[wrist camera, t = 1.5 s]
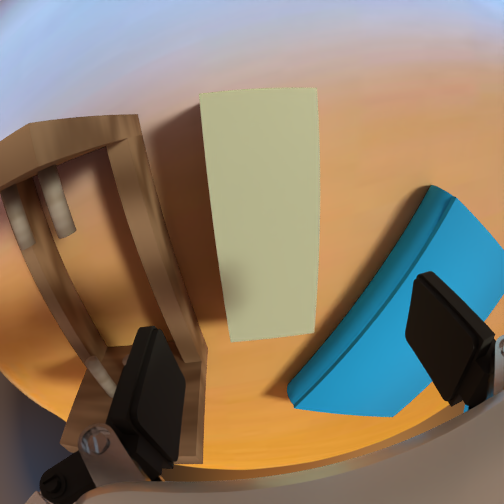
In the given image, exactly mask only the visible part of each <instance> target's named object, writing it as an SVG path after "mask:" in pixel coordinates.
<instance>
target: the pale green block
mask: <svg viewBox="0 0 504 504" xmlns="http://www.w3.org/2000/svg"><path fill="white" fill-rule="evenodd" d="M199 99H200V110H201V121H202V131H203V141H204V150H205V160H206V169H207V177H208V186H209V194H210V203H211V211H212V218H213V226H214V234H215V241H216V249H217V256H218V263H219V270H220V277H221V283H222V290H223V297H224V303H225V310H226V316H227V322H228V328H229V334H230V340H231V342H239V341H250V340H260V339H270V338H278V337H287V336H295V335H302V334H309V333H314V328H315V315H316V301H317V284H318V263H319V234H320V147H319V119H318V99H317V88H259V89H243V90H230V91H220V92H211V93H203V94H199Z"/></svg>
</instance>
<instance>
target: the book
mask: <svg viewBox="0 0 504 504" xmlns="http://www.w3.org/2000/svg"><path fill="white" fill-rule="evenodd" d="M428 271H432V272H434V273H435V274H436V275H437V276H438V277H439V278H440V279H441V280H442V281H443V282H445V283H446V284H447V285H448V286H449V287H450V288H451V289H452V290H453V291H454V292H455V293H456V294H457V295H458V296H459V297H460V298H461V299H462V300H463V301H464V302H465V303H466V304H467V305H468V306H469V307H470V308H471V309H472V310H473V311H474V312H475V313H476V314H477V315H478V316H479V317H480V318H481V319H482V320H483V322H484V321H485V320H486V318H487V317H488V316H489V314H490V313H491V312H492V310H493V309H494V307H495V306H496V305H497V303H498V302H499V300H500V299H501V297H502V296H503V294H504V250H503V249H502V247H501V246H500V245H499V244H498V242H497V241H496V240H495V239H494V238H493V237H492V235H491V234H490V233H489V232H488V231H487V230H486V228H485V227H484V226H483V225H482V224H481V223H480V222H479V221H478V220H477V218H476V217H475V216H474V215H473V214H472V213H471V212H470V211H469V210H468V209H467V208H466V207H465V206H464V205H463V204H462V203H461V202H460V201H459V200H458V199H457V198H456V197H454V196H452V195H451V194H449V193H448V192H446V191H444V190H443V189H441V188H439V187H437V186H434V185H431V186H430V188H429V190H428V192H427V193H426V195H425V197H424V199H423V201H422V202H421V204H420V206H419V208H418V209H417V211H416V213H415V214H414V216H413V218H412V219H411V221H410V223H409V224H408V226H407V228H406V229H405V231H404V233H403V234H402V236H401V237H400V239H399V241H398V242H397V244H396V245H395V247H394V248H393V250H392V251H391V253H390V254H389V256H388V258H387V259H386V261H385V262H384V263H383V265H382V266H381V268H380V269H379V271H378V272H377V274H376V275H375V277H374V278H373V279H372V281H371V282H370V284H369V285H368V287H367V288H366V289H365V291H364V292H363V293H362V295H361V296H360V298H359V299H358V300H357V302H356V303H355V304H354V306H353V307H352V308H351V310H350V311H349V312H348V314H347V315H346V316H345V317H344V319H343V320H342V321H341V323H340V324H339V325H338V326H337V328H336V329H335V330H334V331H333V333H332V334H331V335H330V336H329V338H328V339H327V340H326V341H325V342H324V344H323V345H322V346H321V347H320V349H319V350H318V351H317V352H316V353H315V354H314V356H313V357H312V358H311V359H310V360H309V361H308V363H307V364H306V365H305V366H304V367H303V368H302V369H301V371H300V372H299V373H298V374H297V375H296V376H295V377H294V378H293V379H292V381H291V382H290V383H289V384H288V386H287V394H288V397H289V399H290V401H291V402H292V404H293V405H294V408H296V409H302V410H310V411H317V412H326V413H335V414H346V415H359V416H377V417H393V416H395V415H396V414H397V413H398V412H399V411H401V410H402V409H403V408H404V407H405V406H406V405H407V404H409V403H410V402H411V401H412V400H413V399H414V398H415V397H416V396H417V395H418V394H420V393H421V392H422V391H423V390H424V389H425V388H426V387H427V386H428V385H429V384H430V383H431V382H432V380H431V378H430V376H429V375H428V373H427V372H426V370H425V368H424V367H423V365H422V364H421V362H420V361H419V359H418V358H417V356H416V354H415V353H414V351H413V350H412V348H411V347H410V345H409V344H408V342H407V341H406V338H405V329H406V324H407V319H408V313H409V307H410V301H411V295H412V288H413V282H414V280H415V279H416V277H417V275H418V274H421V273H425V272H428Z"/></svg>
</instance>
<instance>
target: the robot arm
mask: <svg viewBox="0 0 504 504" xmlns="http://www.w3.org/2000/svg"><path fill="white" fill-rule="evenodd" d="M494 336H495V334H494V332H493V331H492V330H491V329H490V328H489V327H488V326H487V325H486V324H485V323H484V322H483V320H482V319H481V318H480V317H479V316H478V315H477V314H476V313H475V312H474V311H473V310H472V309H471V308H470V307H469V306H468V305H467V304H466V303H465V302H464V301H463V300H462V299H461V298H460V297H459V296H458V295H457V294H456V293H455V292H454V291H453V290H452V289H451V288H450V287H449V286H448V285H447V284H446V283H445V282H443V281H442V280H441V279H440V278H439V277H438V276H437V275H436V274H435V273H434V272H432V271H428V272H425V273H421V274H418V275H417V277H416V279H415V280H414V282H413V288H412V295H411V301H410V307H409V313H408V319H407V324H406V329H405V338H406V341H407V342H408V344H409V345H410V347H411V348H412V350H413V351H414V353H415V354H416V356H417V358H418V359H419V361H420V362H421V364H422V365H423V367H424V368H425V370H426V372H427V373H428V375H429V376H430V378H431V380H432V381H433V383H434V385H435V386H436V388H437V390H438V391H439V393H440V395H441V396H442V398H443V399H444V400H445V401H448V402H449V404H450V405H451V406H453V405H455V404H457V403H459V402H461V401H462V400H463V401H464V403H465V408H464V413H463V414H461V415H459V416H457V417H455V418H453V419H451V420H449V421H447V422H445V423H443V424H441V425H439V426H437V427H435V428H433V429H431V430H429V431H426V432H424V433H422V434H420V435H418V436H415V437H413V438H410V439H408V440H405V441H403V442H401V443H398V444H395V445H392V446H390V447H387V448H384V449H382V450H379V451H376V452H373V453H370V454H367V455H363V456H360V457H357V458H353V459H350V460H347V461H343V462H339V463H336V464H331V465H327V466H324V467H319V468H314V469H310V470H304V471H299V472H294V473H288V474H282V475H276V476H269V477H261V478H252V479H242V480H227V481H208V482H165V481H164V479H163V478H162V477H161V476H160V475H161V474H162V468H166V469H173V465H174V462H176V461H177V460H178V456H179V445H180V434H181V425H182V415H183V406H184V398H185V389H186V381H185V378H184V376H183V374H182V372H181V370H180V368H179V366H178V364H177V362H176V360H175V357H174V355H173V353H172V351H171V349H170V347H169V345H168V343H167V341H166V338H165V336H164V334H163V332H162V330H161V329H157V328H156V327H155V326H149V327H140V328H139V329H138V332H137V334H136V337H135V340H134V343H133V345H132V348H131V351H130V354H129V357H128V359H127V362H126V365H124V367H123V369H122V372H121V375H120V378H119V381H118V384H117V387H116V390H115V393H114V397H113V400H112V403H111V406H110V409H109V413H108V416H107V419H106V423H105V424H104V423H94V424H92V425H89V426H88V427H86V428H85V429H84V430H83V431H82V433H81V434H80V436H79V439H78V449H79V450H78V451H76V452H75V453H73V454H72V455H70V456H69V457H67V458H66V459H64V460H63V461H61V462H60V463H58V464H56V465H55V466H53V467H52V468H50V469H48V470H47V471H46V472H45V473H44V474H43V475H42V477H41V480H40V492H37V491H35V492H34V494H33V495H32V496H31V497H30V498H29V499H28V501H27V502H26V503H25V504H504V335H502V336H500V337H499V338H498V339H497V341H495V339H494Z"/></svg>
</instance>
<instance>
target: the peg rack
mask: <svg viewBox="0 0 504 504" xmlns="http://www.w3.org/2000/svg"><path fill="white" fill-rule="evenodd" d="M103 147H106V148H107V152H108V156H109V160H110V164H111V167H112V171H113V175H114V178H115V182H116V186H117V189H118V192H119V196H120V199H121V203H122V206H123V209H124V212H125V215H126V218H127V222H128V225H129V228H130V231H131V234H132V237H133V239H134V242H135V245H136V248H137V251H138V254H139V256H140V259H141V262H142V265H143V267H144V270H145V272H146V275H147V278H148V280H149V283H150V285H151V288H152V290H153V293H154V295H155V298H156V300H157V303H158V305H159V307H160V310H161V312H162V314H163V317H164V319H165V321H166V324H167V326H168V328H169V330H170V333H171V335H172V337H173V339H174V341H172V342H167V343H168V345H169V347H170V349H171V351H172V353H173V355H174V357H175V360H176V362H177V364H178V366H179V368H180V370H181V372H182V374H183V376H184V378H185V381H186V389H185V398H184V406H183V415H182V425H181V434H180V445H179V456H178V460H177V461H176V462H174V464H203V439H204V412H205V390H206V371H207V354H208V348H207V345H206V343H205V340H204V337H203V335H202V332H201V329H200V327H199V324H198V321H197V319H196V316H195V313H194V310H193V307H192V305H191V302H190V299H189V296H188V293H187V290H186V287H185V284H184V282H183V279H182V276H181V273H180V269H179V266H178V263H177V260H176V257H175V254H174V251H173V248H172V244H171V241H170V238H169V235H168V231H167V228H166V225H165V221H164V218H163V214H162V211H161V207H160V204H159V200H158V196H157V193H156V189H155V185H154V181H153V178H152V174H151V170H150V166H149V162H148V158H147V154H146V149H145V145H144V141H143V137H142V132H141V128H140V123H139V118H138V114H132V115H104V116H88V117H76V118H66V119H57V120H49V121H41V122H34V123H28V124H27V125H25V126H23V127H22V128H20V129H19V130H17V131H15V132H14V133H12V134H11V135H9V136H8V137H6V138H5V139H3V140H2V141H0V194H1V197H2V201H3V204H4V207H5V210H6V213H7V216H8V219H9V222H10V224H11V227H12V230H13V232H14V235H15V238H16V240H17V243H18V245H19V247H20V250H21V252H22V255H23V257H24V259H25V261H26V264H27V266H28V268H29V270H30V272H31V274H32V277H33V279H34V281H35V283H36V285H37V287H38V289H39V291H40V293H41V294H42V296H43V298H44V300H45V302H46V304H47V306H48V307H49V309H50V311H51V313H52V315H53V316H54V318H55V320H56V321H57V323H58V325H59V326H60V328H61V330H62V331H63V333H64V335H65V336H66V338H67V339H68V341H69V342H70V344H71V346H72V347H73V349H74V350H75V352H76V353H77V355H78V356H79V357H80V359H81V360H82V362H83V363H84V365H85V366H86V367H87V370H86V373H85V375H84V378H83V380H82V383H81V385H80V388H79V390H78V393H77V395H76V398H75V401H74V403H73V406H72V409H71V411H70V414H69V417H68V420H67V423H66V426H65V429H64V432H63V435H62V438H61V441H60V444H61V445H62V446H64V447H65V448H66V449H67V450H68V451H70V452H73V453H75V452H76V451H78V450H79V449H78V439H79V436H80V434H81V433H82V431H83V430H84V429H85V428H86V427H88V426H89V425H92V424H94V423H104V424H105V423H106V419H107V416H108V413H109V409H110V406H111V403H112V400H113V397H114V393H115V390H116V387H117V384H118V381H119V378H120V375H121V372H122V369H123V367H124V365H126V362H127V359H128V357H129V354H130V351H131V348H132V346H119V347H107V346H106V344H105V343H104V341H103V339H102V338H101V336H100V334H99V332H98V331H97V329H96V327H95V326H94V324H93V322H92V320H91V318H90V317H89V315H88V313H87V311H86V309H85V307H84V305H83V303H82V301H81V300H80V298H79V296H78V294H77V292H76V290H75V288H74V285H73V283H72V281H71V279H70V277H69V275H68V273H67V271H66V268H65V266H64V264H63V262H62V259H61V257H60V255H59V252H58V250H57V247H56V245H55V242H54V240H53V237H52V235H51V232H50V229H49V227H48V224H47V221H46V219H45V216H44V213H43V210H42V207H41V204H40V201H39V198H38V194H37V191H36V188H35V185H34V181H33V178H32V177H34V176H36V175H38V178H39V181H40V185H41V188H42V191H43V194H44V198H45V201H46V204H47V207H48V210H49V213H50V216H51V218H52V221H53V224H54V227H55V229H56V232H57V235H58V237H59V238H64V237H67V236H69V235H71V234H72V233H74V232H75V231H76V227H75V225H74V222H73V219H72V216H71V213H70V210H69V207H68V204H67V201H66V198H65V195H64V192H63V188H62V185H61V182H60V178H59V175H58V171H57V167H56V166H58V165H60V164H62V163H65V162H67V161H69V160H72V159H74V158H77V157H79V156H82V155H84V154H87V153H89V152H92V151H95V150H97V149H100V148H103Z"/></svg>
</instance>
